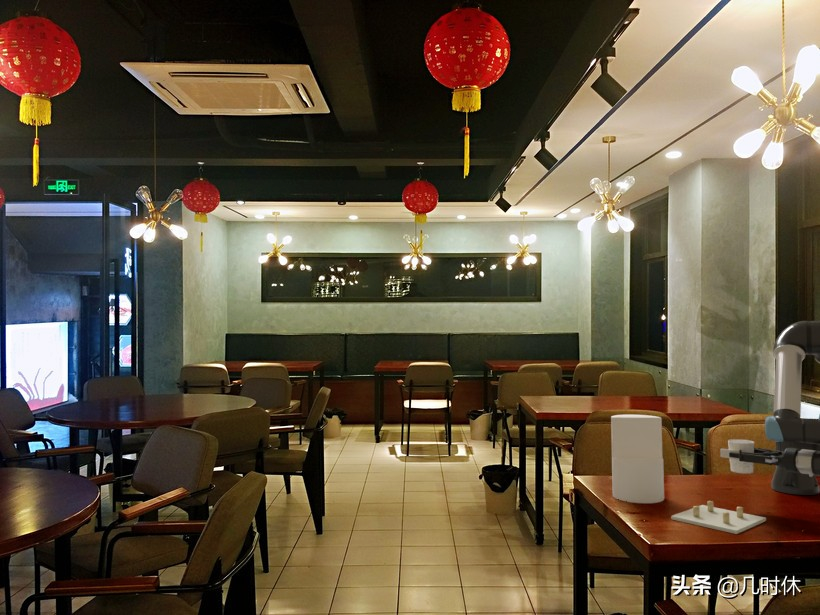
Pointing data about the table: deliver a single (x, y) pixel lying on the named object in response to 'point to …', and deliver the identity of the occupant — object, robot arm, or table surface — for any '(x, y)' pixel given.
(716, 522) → the standoff plate
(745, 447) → the white cup
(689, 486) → the table surface
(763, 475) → the table surface
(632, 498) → the cylinder
